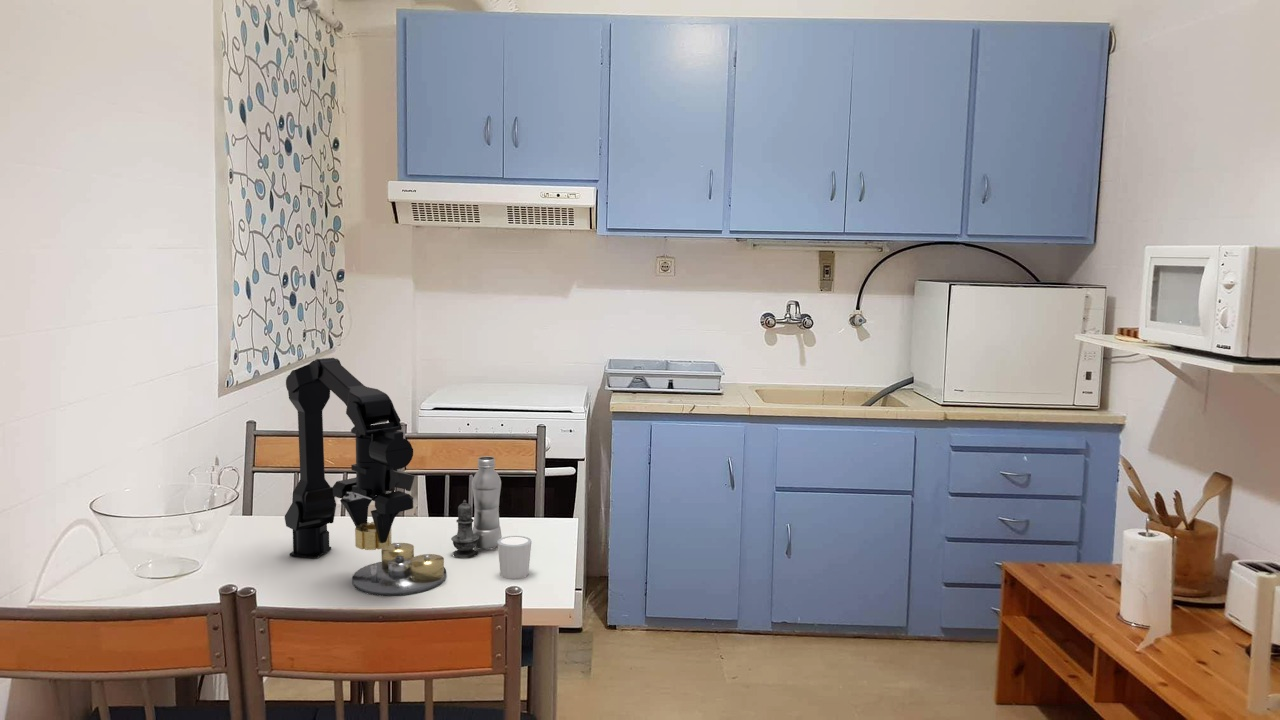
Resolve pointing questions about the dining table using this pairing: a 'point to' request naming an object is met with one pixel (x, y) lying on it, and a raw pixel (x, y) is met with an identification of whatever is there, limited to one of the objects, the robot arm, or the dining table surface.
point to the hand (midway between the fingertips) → (373, 538)
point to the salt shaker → (465, 533)
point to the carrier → (400, 572)
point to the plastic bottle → (486, 504)
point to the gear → (369, 537)
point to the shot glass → (514, 556)
